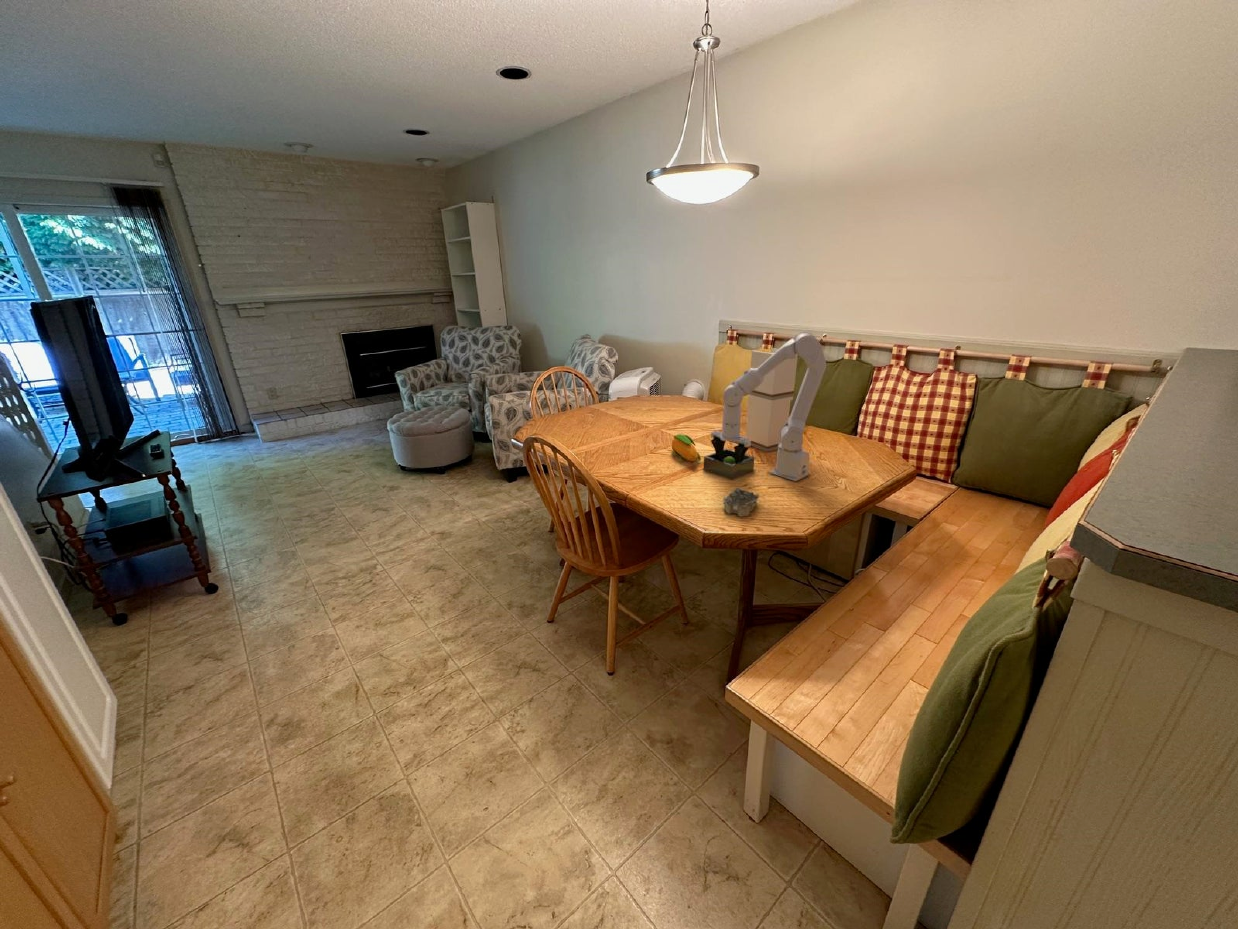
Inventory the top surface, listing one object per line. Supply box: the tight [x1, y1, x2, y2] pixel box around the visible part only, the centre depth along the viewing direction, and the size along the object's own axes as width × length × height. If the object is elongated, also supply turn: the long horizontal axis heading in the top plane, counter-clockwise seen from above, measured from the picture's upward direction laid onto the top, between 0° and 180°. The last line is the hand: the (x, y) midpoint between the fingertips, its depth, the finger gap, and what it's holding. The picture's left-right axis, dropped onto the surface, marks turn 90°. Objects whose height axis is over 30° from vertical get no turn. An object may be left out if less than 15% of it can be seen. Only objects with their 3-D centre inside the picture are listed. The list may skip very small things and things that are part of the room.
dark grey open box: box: [703, 448, 755, 480], centre depth 158 cm, size 12×12×5 cm
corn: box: [671, 433, 702, 462], centre depth 169 cm, size 7×8×20 cm
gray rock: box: [722, 486, 760, 517], centre depth 132 cm, size 11×8×4 cm
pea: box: [723, 456, 735, 465], centre depth 158 cm, size 4×4×4 cm
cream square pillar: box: [744, 347, 799, 453], centre depth 175 cm, size 11×11×35 cm
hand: (728, 462), depth 158 cm, fingers open, 7 cm apart
